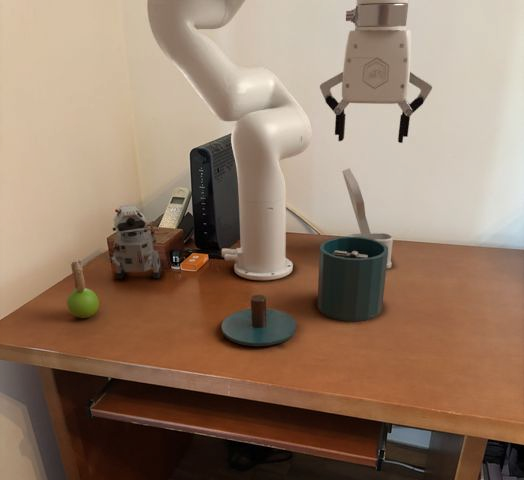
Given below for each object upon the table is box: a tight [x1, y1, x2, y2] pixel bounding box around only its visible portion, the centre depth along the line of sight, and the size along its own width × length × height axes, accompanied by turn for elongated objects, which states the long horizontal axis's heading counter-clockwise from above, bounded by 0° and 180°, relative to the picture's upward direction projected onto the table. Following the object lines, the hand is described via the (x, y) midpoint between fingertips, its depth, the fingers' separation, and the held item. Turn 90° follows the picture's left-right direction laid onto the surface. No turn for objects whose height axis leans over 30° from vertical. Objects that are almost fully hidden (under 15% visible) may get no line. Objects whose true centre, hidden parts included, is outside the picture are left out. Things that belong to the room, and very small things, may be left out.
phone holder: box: [342, 168, 394, 269], centre depth 120 cm, size 17×10×18 cm, turn 179°
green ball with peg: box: [66, 259, 100, 319], centre depth 97 cm, size 5×6×12 cm
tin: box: [317, 236, 388, 322], centre depth 99 cm, size 12×12×12 cm
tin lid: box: [221, 294, 297, 347], centre depth 93 cm, size 13×13×6 cm
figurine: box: [111, 204, 163, 280], centre depth 111 cm, size 9×12×15 cm
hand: (370, 140), depth 90 cm, fingers open, 9 cm apart
